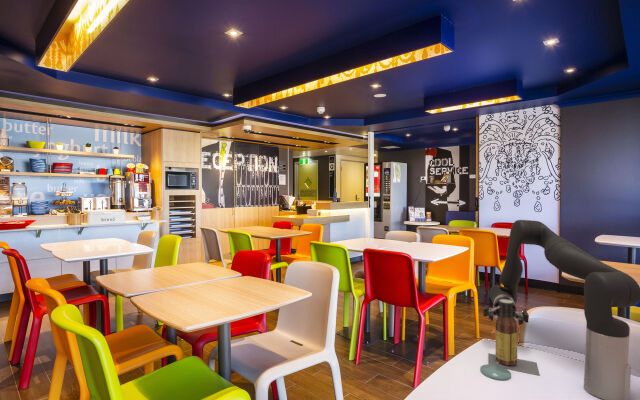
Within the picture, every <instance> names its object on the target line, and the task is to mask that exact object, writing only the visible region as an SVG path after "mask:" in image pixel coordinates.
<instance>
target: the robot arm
mask: <svg viewBox="0 0 640 400" xmlns="http://www.w3.org/2000/svg"><path fill="white" fill-rule="evenodd" d="M522 245H530V246H531V245H532V246H533V245H534V246H539V247H540V248H542V249H544V250H543V253H544V257H545V259H546V260H547V261H548V263H549V264H551V265H552V266H553V267H555V268H556V269H557V270H559V271H561V272H562V273H564V274H567V275H569V276H571V277H574V278H577V279H580V280H583V281H584V284H583V307H584V308H583V310H584V311H583V313H584V318H585V320H586V322H585V323H586V327H585V328H586V329H585V330H586V332H585V333H586V334H585V350H584V352H585V354H584V355H585V356H584V377H583V388H584V390H585V391H586V392H587V393H588V394H590V395H592V396H594V397H596V398H599V399H602V400H630V398H631V397H630V393H631V376H632V375H631V374H632V372H631V371H632V368H631V367H632V366H631V365H630V364H629V354H630V353H629V350H630V334H631V333H630V332H631V329H630V325H629V324H628V323H627V322H626V321H624V320H621V319H619V318H617V317H614V316H613V309H612V308H629V307H634V306H636V305H638V304H639V303H640V284H638V282H637V281H636V279H635V278H633V276H631V275H629V274H628V273H626V272H624V271H621V270H619V269H618V268H615V267H612V266H611V265H608V264H606V263H604V262H603V261H601V260H600V259H598V258H596V257H594V256H593V255H591V254H590V253H587V252H586V251H584V250H582V249H581V248H580V247H578V246H577V245H575V244H574V243H572V242H570V241H569V240H567V239H565V238H563V236H560V235H558V234H557V233H555V232H554V231H553V230H552V229H550V228H549V227H548V226H547V225H546V224H544V223H543V222H541V221H539V220H528V219H517V220H515V221H514V222H513V223H512V225H511V228H510V231H509V238H508V243H507V250H506V257H505V260H504V265H503V267H502V271H501V273H500V277H499V282H500V285H499V284H494V285H492V287H490V289H489V293H488V295H489V299H490V301H491V302H492V303H493V305H492V307H490V306H489V305H488V304H484V307H483V316H484V317H487V316H488V319H489V320H490V321H491V322H493V321H494V319H497V318H498V316H499V312H500V305H499V300H501V299H506V300H511V301H513V305H514V306H513V317H514V318H515V320H516V322H517V323H518V325H519V326H522V325H524V323H526V324H528V323H529V313H528V311H527V310H524V309H523V310H522V311H519V310H517V307H516V304H517V302H518V287H519V283H520V280H521V278H522V276H523V272H524V266H523V263H522V260H521V257H520V254H519V253H520V252H519V250H520V247H521V246H522Z"/></svg>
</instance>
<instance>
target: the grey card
mask: <svg viewBox="0 0 640 400" xmlns="http://www.w3.org/2000/svg"><path fill="white" fill-rule="evenodd" d="M487 359H488V360H487V361H488V362H487V363H488V364H491V365H497V366H500V367H503V368H505V369H507V370H509V371H513V372H514V371H515V372H521V373H525V374H529V375H533V376H534V375H535V376H539V377H540V376H541V375H540V370H539V366H538V364H537V363H538V362H536V361H530V360H525V359H520V358H517V364H516V365H514V366H508V365H503V364H501V363H499V362H498V361H497V360H496V353H495V354H494V353H488V357H487Z"/></svg>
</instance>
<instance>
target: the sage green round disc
mask: <svg viewBox="0 0 640 400" xmlns="http://www.w3.org/2000/svg"><path fill="white" fill-rule="evenodd" d="M479 369H480V370H479V371H480V372H481V374H482V375H484V376H485V377H487V378H489V379H492V380H496V381H509V380H510V379H511V378H512V372H511V370H509V369H505V368H503V367H500V366H497V365H491V364H483V365H481V366H480V368H479Z"/></svg>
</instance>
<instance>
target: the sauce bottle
mask: <svg viewBox="0 0 640 400" xmlns="http://www.w3.org/2000/svg"><path fill="white" fill-rule="evenodd" d="M499 305H500V312H499V316H498V318H496V322H495V355H496V360H497V361H498V362H499V363H501V364H503V365H508V366H514V365H516V364H517V359H518V324H517V321H516V320H515V318H514V317H513V306H514V305H513V301H511V300H506V299H501V300H499Z"/></svg>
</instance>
